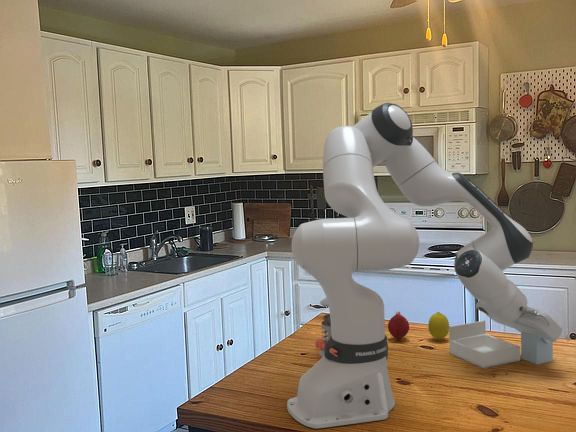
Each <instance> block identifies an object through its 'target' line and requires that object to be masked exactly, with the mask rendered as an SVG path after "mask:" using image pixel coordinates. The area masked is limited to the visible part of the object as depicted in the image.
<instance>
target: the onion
mask: <svg viewBox="0 0 576 432" xmlns="http://www.w3.org/2000/svg"><path fill="white" fill-rule="evenodd" d="M387 331H388V332H389V334H390V335H391V336H392V337H393V338H394V339H396V340H397V341H400V340H402V339H404V337H406V336H407V334H408V332H409V331H410V323H409V321H408V319H407V318H406V317H405V316H404V315H402V314H401V311H399V310H398V311H396V313H395V314H394V315H393V316H392V317H390V319H389V321H388V323H387Z"/></svg>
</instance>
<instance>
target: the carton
mask: <svg viewBox="0 0 576 432" xmlns="http://www.w3.org/2000/svg"><path fill="white" fill-rule="evenodd" d="M553 343H554V342H553V341H552V342H551V343H550V344H547V343H544V342H543V341H542V340H541V337H538V336H535V335H532V334H529V333H526V332H523V331H521V332H520V360H524V361H527V362H529V363H532V364H534V365H541V363H542V364H545V363H551V362H553V359H554V357H553V356H554V354H553V352H554V349H553V347H554V345H553ZM550 361H551V362H550Z"/></svg>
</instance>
